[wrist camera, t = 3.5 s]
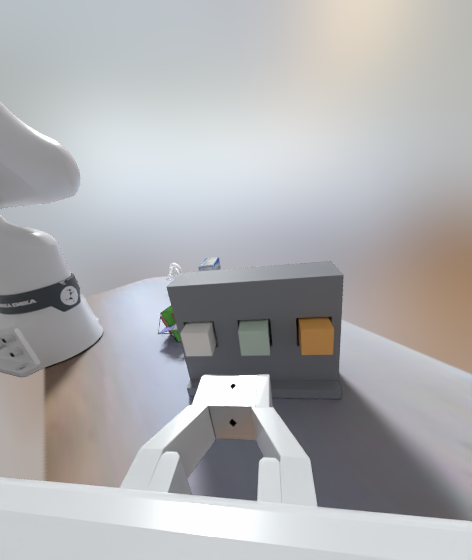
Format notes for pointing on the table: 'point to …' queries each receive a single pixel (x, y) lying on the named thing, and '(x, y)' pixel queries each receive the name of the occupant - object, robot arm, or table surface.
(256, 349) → the button sage
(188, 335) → the button offwhite
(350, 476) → the table surface
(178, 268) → the white irregular piece
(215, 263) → the medicine box
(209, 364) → the button panel
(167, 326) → the geometric puzzle
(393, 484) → the table surface
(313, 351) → the button orange
